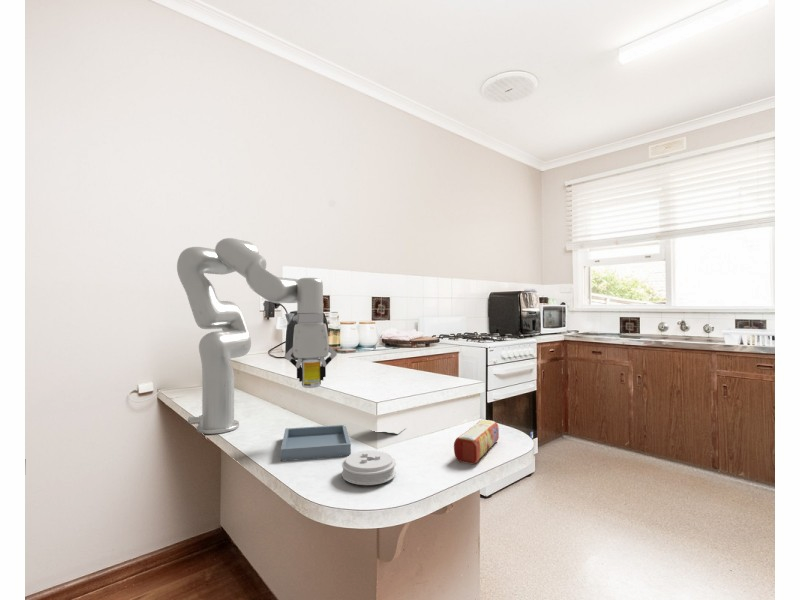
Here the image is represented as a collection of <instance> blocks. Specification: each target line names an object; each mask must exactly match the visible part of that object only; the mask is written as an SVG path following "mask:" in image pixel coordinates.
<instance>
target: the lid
mask: <svg viewBox="0 0 800 600" xmlns="http://www.w3.org/2000/svg"><path fill="white" fill-rule="evenodd" d="M396 464H397V461H396V459H395V458H394V456H392V455H391V454H390V453H387V452H385V451H381V450H362V451H357V452H353V453H351V455H349V456H346V457H345V458H344V459H343V460H342V462H341V468H342V471H341V476H342V478H343V480H344V481H347V482H349V483H351V484H353V485H354V484H355V485H359V486H375V485H381V484H384V483H387V482H389V481H391V480H392V479H393V478H394V477H395V476H396V474H397V470H396V469H395V468H396V467H395V466H396Z"/></svg>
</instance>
